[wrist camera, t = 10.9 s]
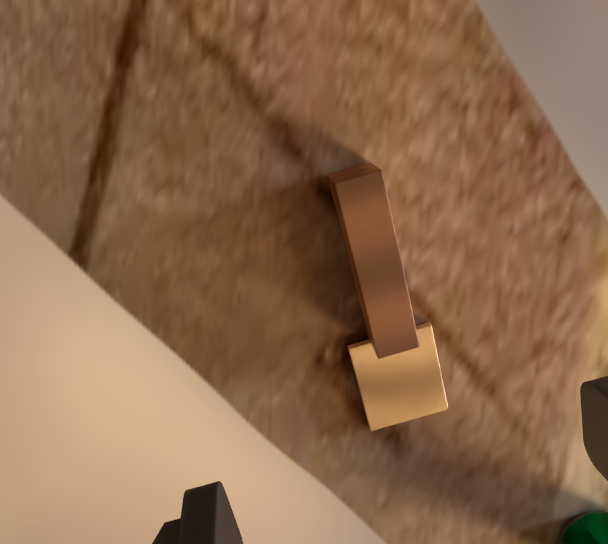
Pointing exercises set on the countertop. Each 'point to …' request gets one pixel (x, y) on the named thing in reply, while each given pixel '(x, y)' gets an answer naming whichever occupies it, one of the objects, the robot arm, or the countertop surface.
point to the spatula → (384, 307)
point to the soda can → (587, 529)
